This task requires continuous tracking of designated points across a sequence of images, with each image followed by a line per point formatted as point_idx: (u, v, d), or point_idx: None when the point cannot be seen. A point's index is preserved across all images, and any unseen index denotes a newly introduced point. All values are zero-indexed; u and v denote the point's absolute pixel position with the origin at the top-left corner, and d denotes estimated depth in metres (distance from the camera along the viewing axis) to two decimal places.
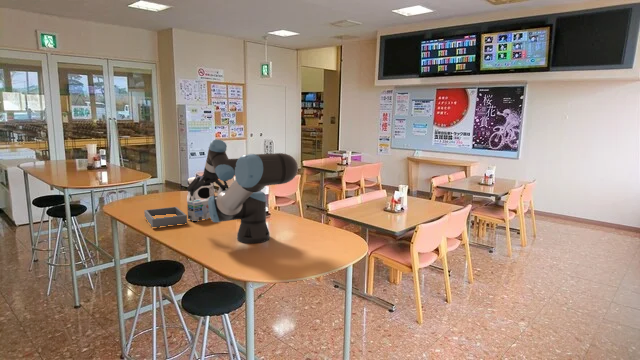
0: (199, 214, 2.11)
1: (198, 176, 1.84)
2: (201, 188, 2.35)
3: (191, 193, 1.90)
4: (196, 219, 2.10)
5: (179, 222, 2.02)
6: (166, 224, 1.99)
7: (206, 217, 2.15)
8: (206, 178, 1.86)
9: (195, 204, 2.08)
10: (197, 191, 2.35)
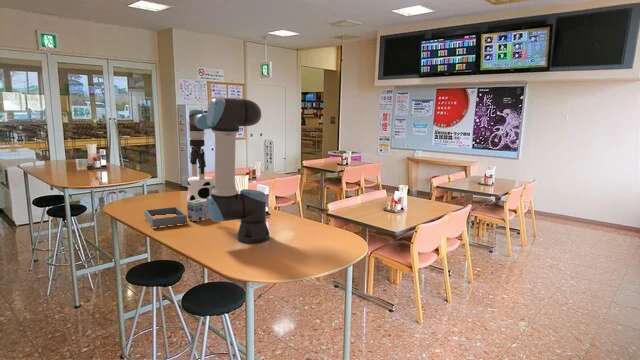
0: (199, 214, 2.11)
1: (193, 146, 2.13)
2: (201, 188, 2.35)
3: (192, 166, 2.16)
4: (196, 219, 2.10)
5: (179, 222, 2.02)
6: (166, 224, 1.99)
7: (206, 217, 2.15)
8: (193, 149, 2.10)
9: (195, 204, 2.08)
10: (197, 191, 2.35)
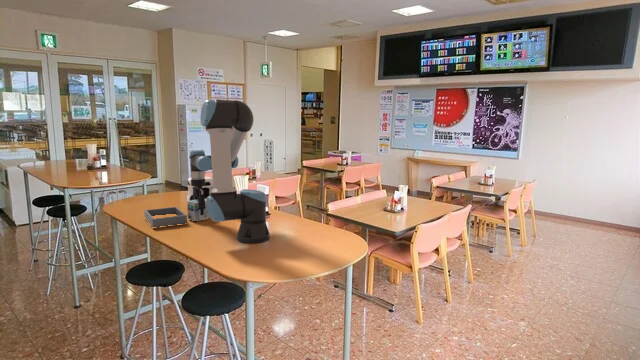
0: None
1: None
2: None
3: None
4: (196, 219, 2.10)
5: (179, 222, 2.02)
6: (166, 224, 1.99)
7: (206, 217, 2.15)
8: (195, 187, 2.14)
9: (195, 204, 2.08)
10: None
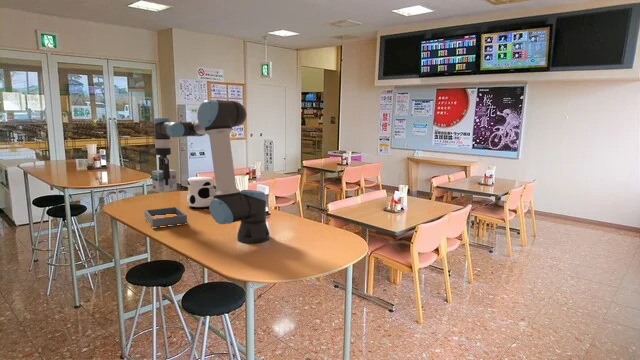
0: None
1: None
2: (201, 188, 2.35)
3: None
4: (160, 189, 2.01)
5: (179, 222, 2.02)
6: (166, 224, 1.99)
7: (172, 188, 2.06)
8: (160, 157, 2.05)
9: (159, 173, 1.99)
10: (197, 191, 2.35)
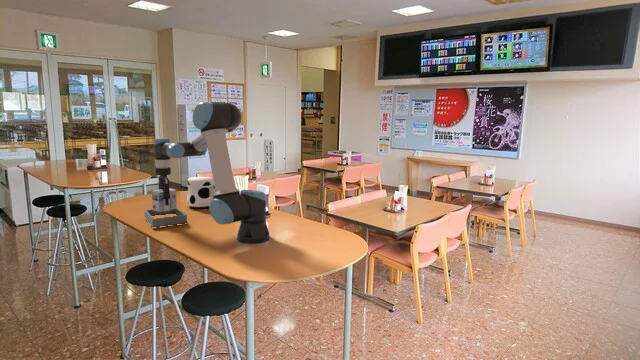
0: None
1: None
2: (201, 188, 2.35)
3: None
4: (161, 209, 2.03)
5: (179, 222, 2.02)
6: (166, 224, 1.99)
7: (172, 207, 2.08)
8: (160, 176, 2.06)
9: (159, 193, 2.01)
10: (197, 191, 2.35)
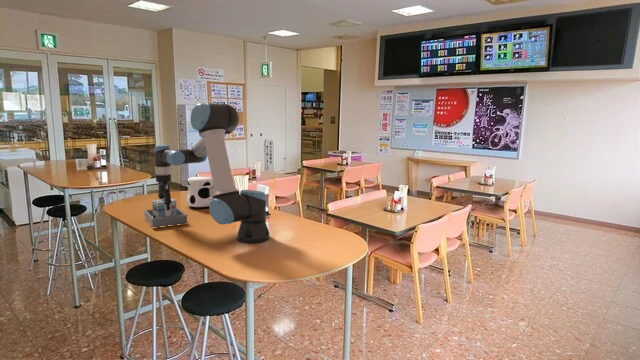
0: (164, 214, 2.05)
1: None
2: (201, 188, 2.35)
3: None
4: None
5: (179, 222, 2.02)
6: (166, 224, 1.99)
7: None
8: (160, 184, 2.07)
9: (158, 204, 2.02)
10: (197, 191, 2.35)
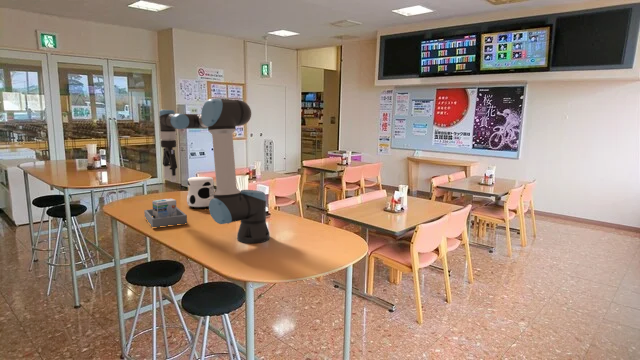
0: (164, 214, 2.05)
1: (165, 148, 2.08)
2: (201, 188, 2.35)
3: None
4: None
5: (179, 222, 2.02)
6: (166, 224, 1.99)
7: None
8: (165, 150, 2.04)
9: (158, 204, 2.02)
10: (197, 191, 2.35)
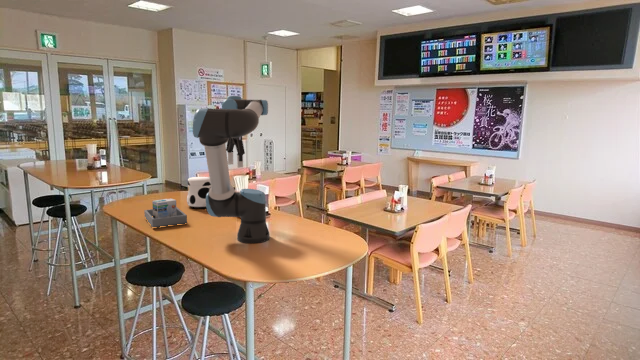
0: (164, 214, 2.05)
1: None
2: (201, 188, 2.35)
3: (228, 154, 2.13)
4: None
5: (179, 222, 2.02)
6: (166, 224, 1.99)
7: None
8: None
9: (158, 204, 2.02)
10: (197, 191, 2.35)
